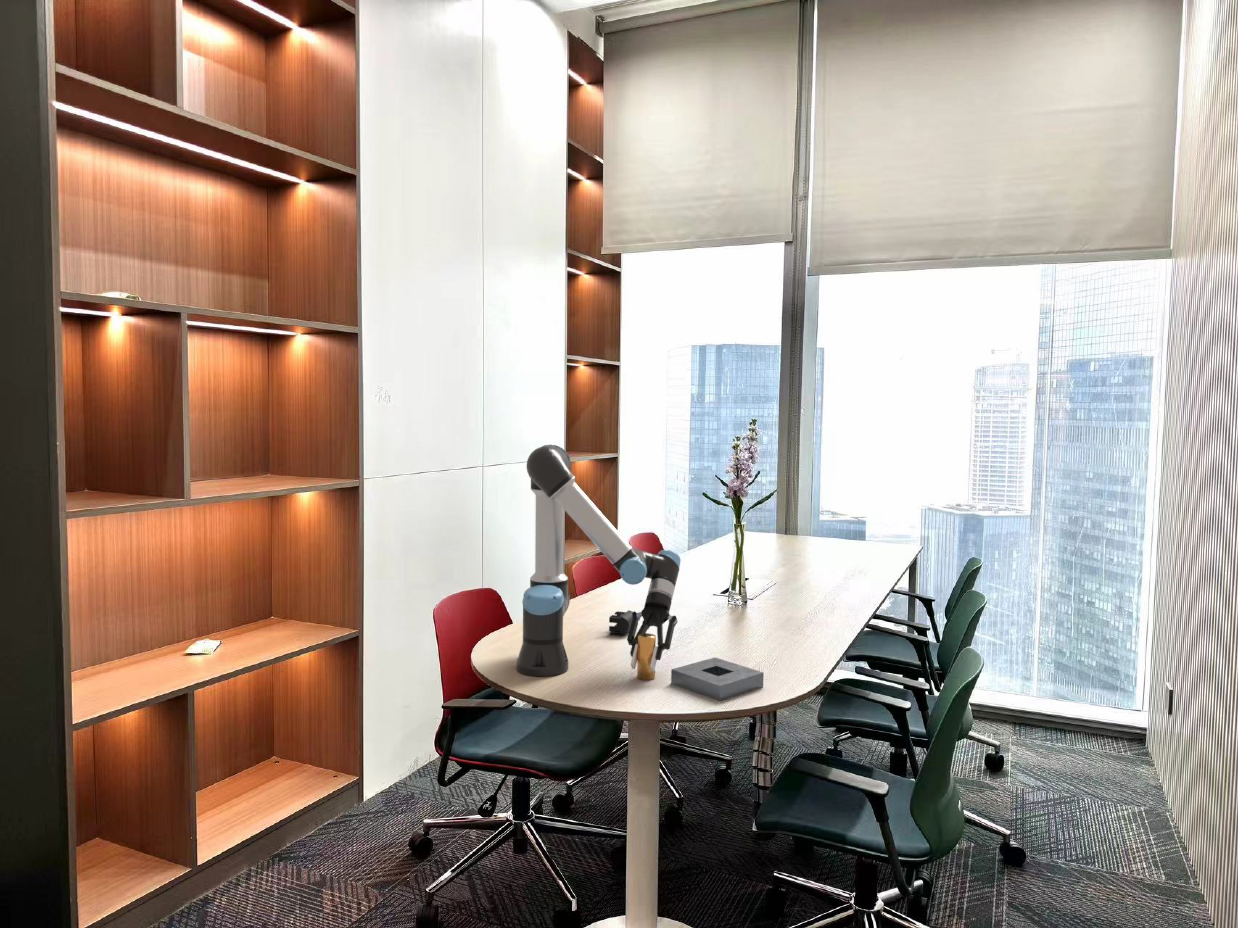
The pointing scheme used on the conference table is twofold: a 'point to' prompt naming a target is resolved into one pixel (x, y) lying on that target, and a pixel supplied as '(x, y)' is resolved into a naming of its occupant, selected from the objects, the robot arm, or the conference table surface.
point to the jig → (717, 678)
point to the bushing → (645, 656)
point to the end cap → (620, 623)
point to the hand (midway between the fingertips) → (642, 667)
